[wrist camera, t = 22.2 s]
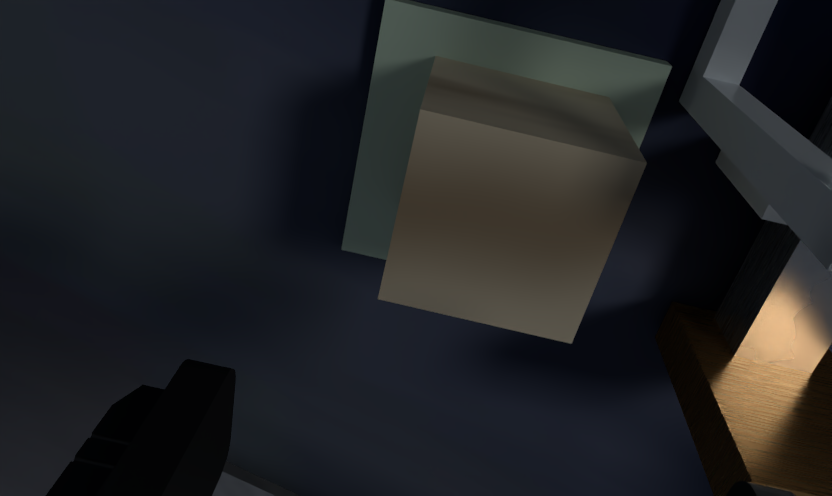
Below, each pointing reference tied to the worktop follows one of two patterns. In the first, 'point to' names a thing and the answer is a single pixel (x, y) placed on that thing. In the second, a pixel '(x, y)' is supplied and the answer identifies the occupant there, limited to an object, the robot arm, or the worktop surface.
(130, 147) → the worktop surface
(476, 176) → the beech block
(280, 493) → the security device
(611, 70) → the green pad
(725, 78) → the gray angular frame
